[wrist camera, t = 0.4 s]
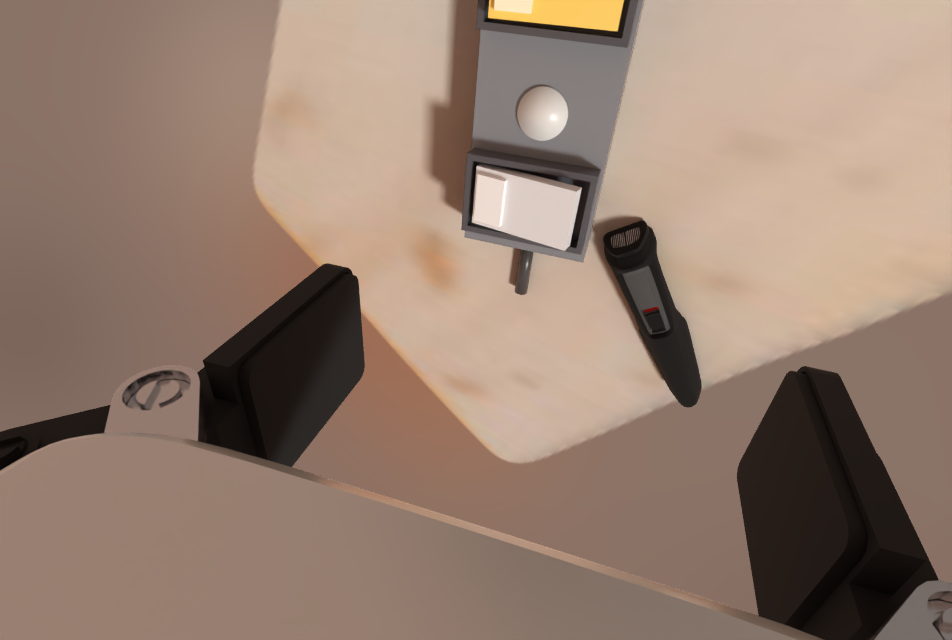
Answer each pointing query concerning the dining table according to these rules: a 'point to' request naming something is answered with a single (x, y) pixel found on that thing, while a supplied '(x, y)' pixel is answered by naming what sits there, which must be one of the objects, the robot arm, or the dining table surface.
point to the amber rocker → (560, 12)
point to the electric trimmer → (654, 308)
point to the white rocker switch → (525, 205)
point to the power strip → (547, 114)
